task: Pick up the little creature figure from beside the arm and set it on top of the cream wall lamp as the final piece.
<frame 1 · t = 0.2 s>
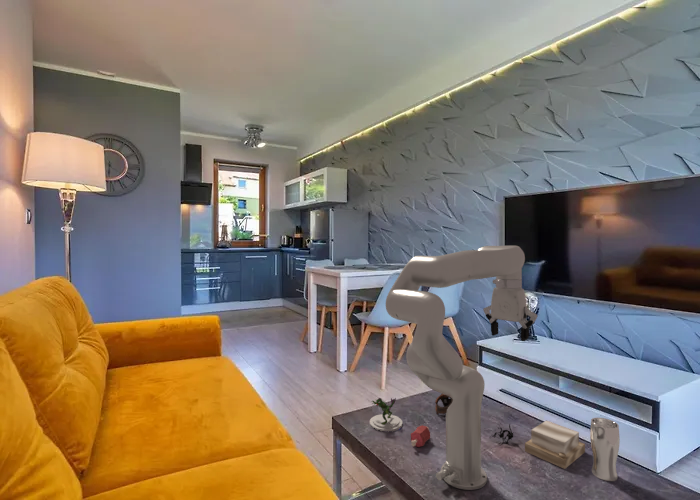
hand: (509, 337, 123), 36 cm above the table, tool pointing down, fingers open, 9 cm apart
pottery mug: (447, 412, 150), on the table
creature: (501, 441, 128), on the table
meat: (420, 443, 128), on the table
beer glass: (604, 475, 109), on the table
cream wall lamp: (554, 452, 121), on the table
monster figurine: (386, 424, 141), on the table
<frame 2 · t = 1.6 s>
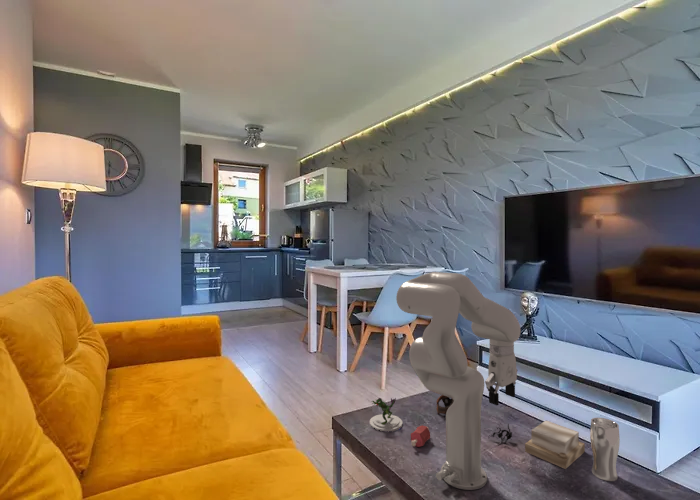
hand: (502, 399, 128), 14 cm above the table, tool pointing down, fingers open, 9 cm apart
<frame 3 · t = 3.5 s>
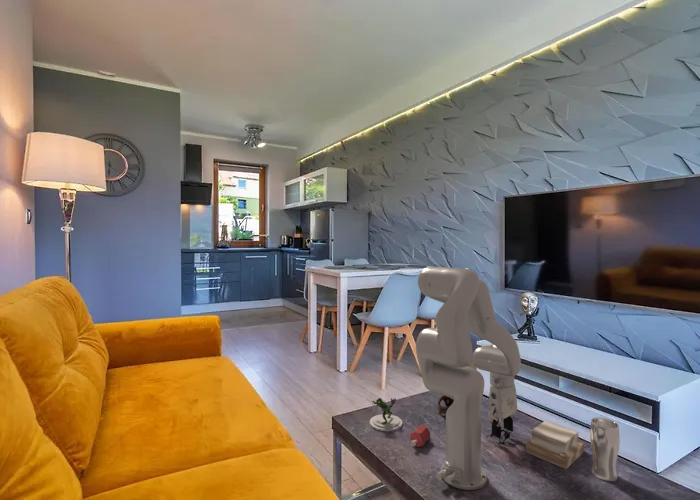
hand: (502, 432, 129), 3 cm above the table, tool pointing down, fingers closed on creature, 6 cm apart
creature: (497, 441, 128), on the table, touching gripper
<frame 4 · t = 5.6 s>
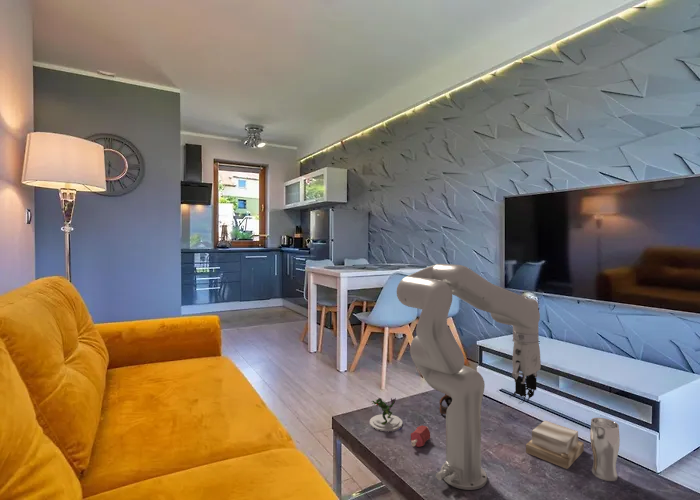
hand: (526, 391, 125), 18 cm above the table, tool pointing down, fingers closed on creature, 6 cm apart
creature: (521, 400, 125), point 15 cm above the table, touching gripper
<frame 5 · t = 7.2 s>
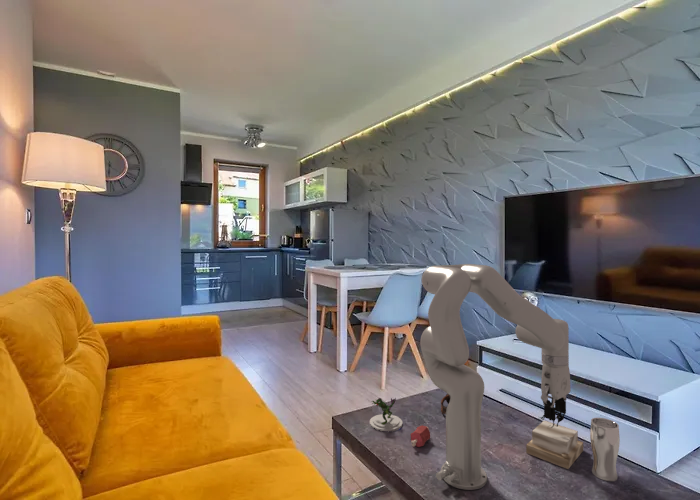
hand: (555, 415, 121), 12 cm above the table, tool pointing down, fingers closed on creature, 6 cm apart
creature: (550, 424, 121), point 9 cm above the table, touching gripper
when the fingers open (9 cm above the table, at t = 8.1 s): creature stays where it is, resting on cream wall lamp.
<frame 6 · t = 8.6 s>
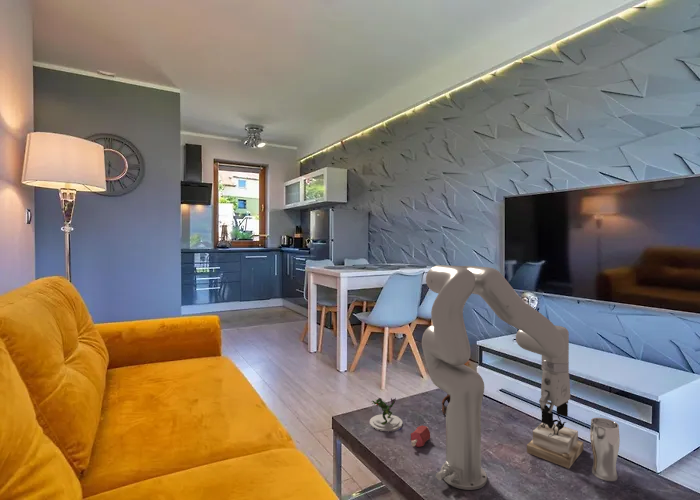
hand: (554, 419, 121), 10 cm above the table, tool pointing down, fingers open, 9 cm apart
creature: (550, 432, 121), point 6 cm above the table, touching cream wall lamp
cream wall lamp: (555, 452, 122), on the table, touching creature
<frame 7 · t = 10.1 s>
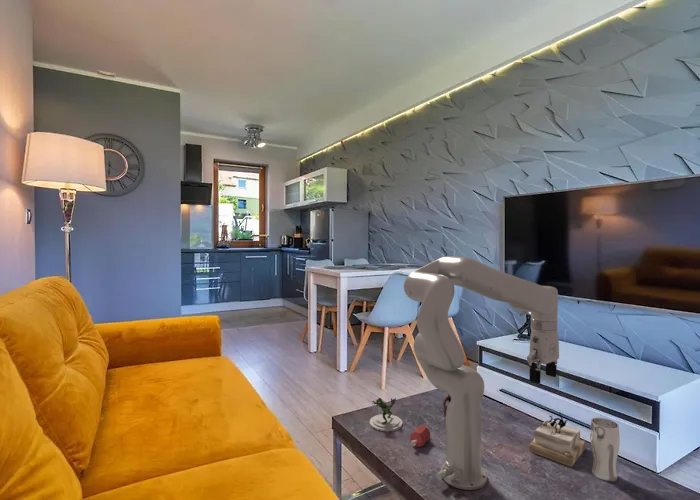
hand: (543, 378, 122), 23 cm above the table, tool pointing down, fingers open, 9 cm apart
creature: (552, 430, 122), point 6 cm above the table
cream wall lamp: (557, 451, 122), on the table
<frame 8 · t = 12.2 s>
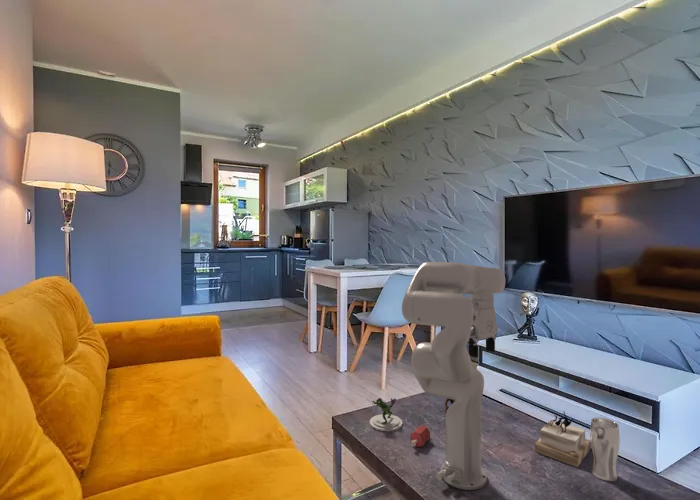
hand: (482, 353, 131), 28 cm above the table, tool pointing down, fingers open, 9 cm apart
creature: (557, 429, 123), point 6 cm above the table, touching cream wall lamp
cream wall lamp: (562, 451, 122), on the table, touching creature
at the end: creature inside the target area on the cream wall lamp (1.3 cm from its centre), point 6.8 cm above the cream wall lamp's base; creature touching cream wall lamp; the gripper is holding nothing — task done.
